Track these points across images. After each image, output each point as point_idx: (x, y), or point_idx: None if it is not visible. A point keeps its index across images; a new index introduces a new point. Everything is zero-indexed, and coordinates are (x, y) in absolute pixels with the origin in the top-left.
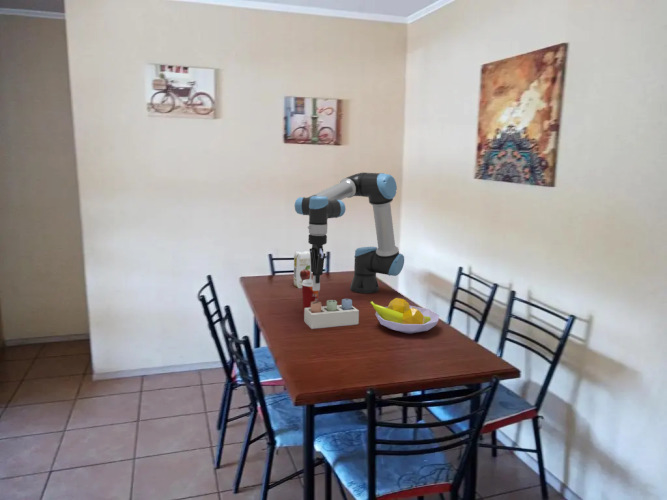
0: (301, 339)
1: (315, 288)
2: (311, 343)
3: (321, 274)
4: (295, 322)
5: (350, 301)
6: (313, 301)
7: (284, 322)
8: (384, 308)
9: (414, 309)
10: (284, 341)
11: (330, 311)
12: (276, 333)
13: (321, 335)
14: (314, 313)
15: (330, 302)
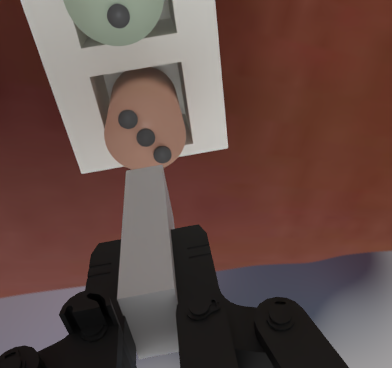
0: (329, 171)
1: (172, 216)
2: (385, 139)
3: (294, 312)
4: (106, 175)
5: None
6: (112, 151)
7: (105, 218)
8: None
9: None
10: (326, 226)
11: (174, 10)
12: (237, 247)
13: (313, 81)
14: (203, 130)
15: (150, 16)
